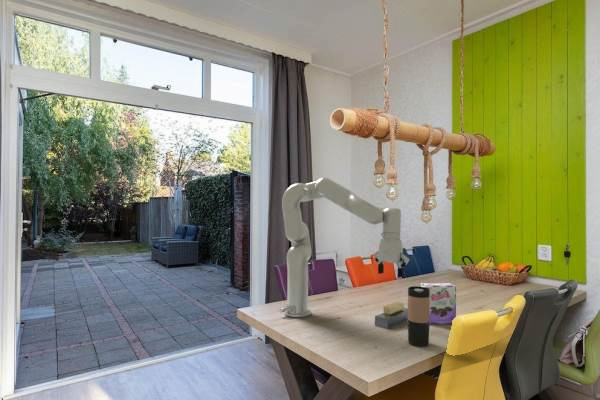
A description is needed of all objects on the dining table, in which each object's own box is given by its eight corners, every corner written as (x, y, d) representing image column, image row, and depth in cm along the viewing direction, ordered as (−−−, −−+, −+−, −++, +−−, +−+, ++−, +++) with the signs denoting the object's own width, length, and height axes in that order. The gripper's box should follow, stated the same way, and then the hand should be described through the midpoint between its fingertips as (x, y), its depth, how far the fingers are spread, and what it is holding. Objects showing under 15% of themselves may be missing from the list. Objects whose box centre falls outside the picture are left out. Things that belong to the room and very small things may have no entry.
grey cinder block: (387, 329, 148) (387, 319, 148) (374, 325, 152) (374, 316, 152) (411, 318, 162) (411, 309, 162) (399, 315, 166) (399, 306, 166)
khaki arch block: (390, 323, 152) (390, 307, 152) (383, 321, 154) (383, 306, 154) (403, 317, 159) (403, 303, 160) (397, 316, 162) (397, 301, 162)
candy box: (424, 324, 154) (425, 285, 154) (419, 320, 160) (419, 282, 160) (456, 324, 155) (456, 285, 155) (449, 319, 161) (450, 282, 161)
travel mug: (418, 338, 138) (418, 285, 138) (434, 345, 131) (434, 289, 131) (403, 341, 134) (403, 287, 134) (418, 349, 127) (419, 291, 128)
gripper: (369, 234, 163) (368, 273, 163) (404, 238, 151) (403, 279, 151) (379, 234, 168) (378, 271, 168) (413, 237, 156) (412, 277, 156)
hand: (390, 275), depth 159 cm, fingers open, 9 cm apart
